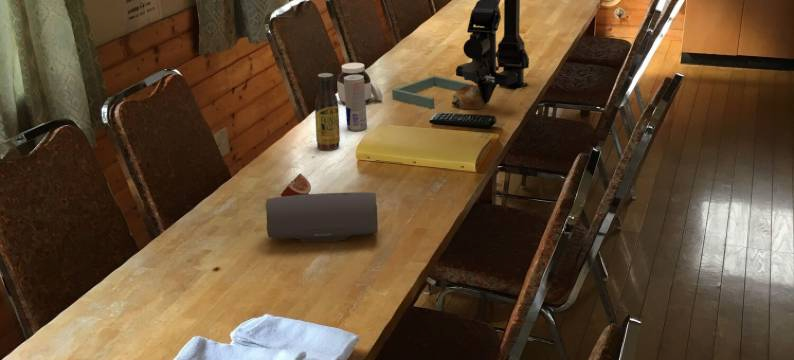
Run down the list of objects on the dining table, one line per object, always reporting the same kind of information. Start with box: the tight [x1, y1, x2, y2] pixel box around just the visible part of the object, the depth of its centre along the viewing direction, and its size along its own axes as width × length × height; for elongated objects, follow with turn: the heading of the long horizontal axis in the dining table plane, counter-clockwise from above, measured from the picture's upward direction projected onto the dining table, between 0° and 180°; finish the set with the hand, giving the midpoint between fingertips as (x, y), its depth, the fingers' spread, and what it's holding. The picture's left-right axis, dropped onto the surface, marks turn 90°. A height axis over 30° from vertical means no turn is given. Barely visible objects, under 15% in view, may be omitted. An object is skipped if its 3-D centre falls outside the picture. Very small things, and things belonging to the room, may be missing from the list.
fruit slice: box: [280, 173, 312, 197], centre depth 218 cm, size 8×7×5 cm
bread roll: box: [451, 84, 488, 111], centre depth 277 cm, size 10×10×8 cm
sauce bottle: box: [314, 72, 341, 151], centre depth 247 cm, size 6×6×20 cm
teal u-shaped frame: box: [391, 75, 474, 110], centre depth 288 cm, size 19×16×3 cm
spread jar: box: [336, 62, 383, 106], centre depth 284 cm, size 12×11×12 cm
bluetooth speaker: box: [265, 191, 379, 243], centre depth 197 cm, size 23×9×10 cm, turn 92°
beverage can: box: [344, 75, 368, 132], centre depth 261 cm, size 6×6×15 cm
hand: (486, 102), depth 274 cm, fingers closed
